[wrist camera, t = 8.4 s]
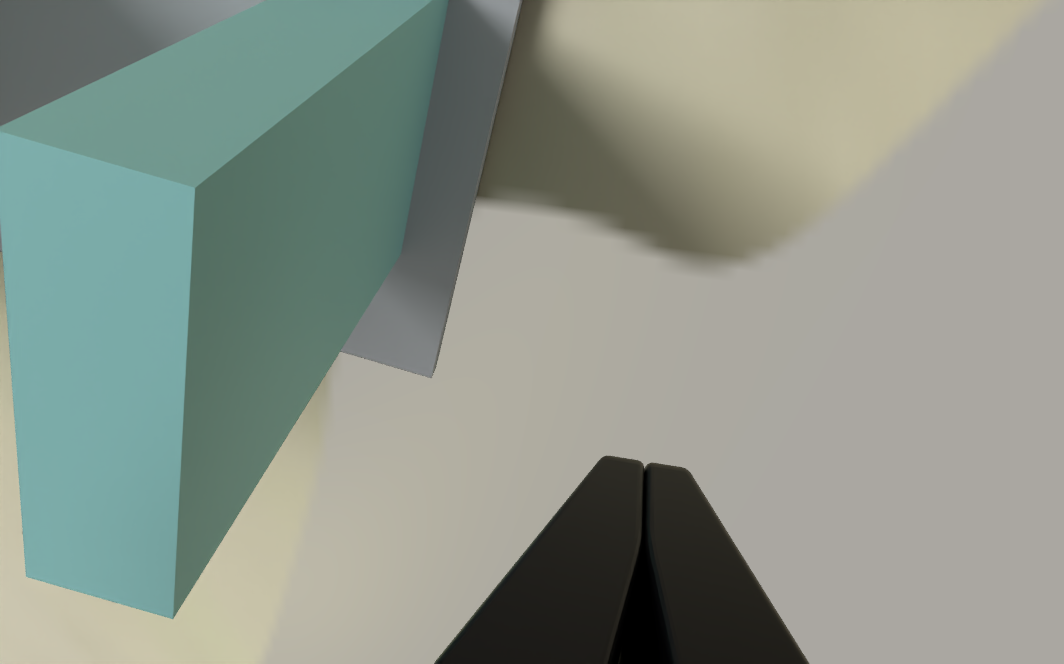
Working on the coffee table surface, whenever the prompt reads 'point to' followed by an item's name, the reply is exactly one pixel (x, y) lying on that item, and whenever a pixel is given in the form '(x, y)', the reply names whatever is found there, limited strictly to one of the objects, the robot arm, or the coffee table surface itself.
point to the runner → (444, 162)
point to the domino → (197, 274)
